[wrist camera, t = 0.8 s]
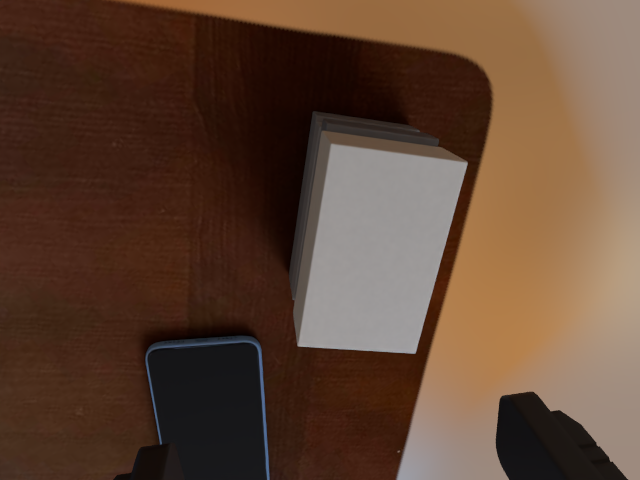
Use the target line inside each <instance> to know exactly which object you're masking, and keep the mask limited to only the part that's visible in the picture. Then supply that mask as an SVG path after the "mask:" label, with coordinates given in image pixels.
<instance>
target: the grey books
mask: <svg viewBox="0 0 640 480" xmlns="http://www.w3.org/2000/svg"><path fill="white" fill-rule="evenodd" d="M322 131H329V132H336V133H343V134H350V135H357V136H364V137H371V138H378V139H385V140H392V141H400V142H407V143H414V144H421V145H428V146H435V147H438V143H439V139H437V138H435V137H433V136H431V135H429V134H427V133H420V131H419V130H418V129H416V128H414V127H412V126H410V125H404V124H397V123H391V122H384V121H377V120H370V119H364V118H357V117H350V116H343V115H337V114H330V113H323V112H317V111H313V114H312V120H311V127H310V134H309V141H308V148H307V155H306V161H305V168H304V175H303V182H302V189H301V195H300V202H299V209H298V216H297V223H296V229H295V236H294V243H293V250H292V257H291V264H290V270H289V279H290V286H291V290H292V298H293V300H295V298H296V292H297V285H298V279H299V272H300V266H301V260H302V253H303V247H304V240H305V234H306V227H307V221H308V215H309V208H310V202H311V195H312V189H313V182H314V176H315V170H316V163H317V157H318V150H319V144H320V137H321V132H322Z"/></svg>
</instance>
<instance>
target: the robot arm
mask: <svg viewBox="0 0 640 480" xmlns="http://www.w3.org/2000/svg"><path fill="white" fill-rule="evenodd" d="M496 449H497V454H498V457H499V460H500V463H501V465H502V468H503V470H504V471H505V473H506V475H507V476H508V478H509V480H628V479H627V478H626V477H625V476H624V475H623V473H622V472H621V471H620V470H619V469H618V468H617V466H616V465H615V464H614V463H613V462H610V460H609V457H608V456H607V455H606V454H605V452H604V451H603V450H602V449H601V448H600V447H598V446H597V445H596V442H595V441H594V440H593V438H592V437H591V436H590V435H589V434H588V432H587V431H586V430H585V429H584V428H583V427H582V425H581V424H579V423H578V422H576V421H575V420H573V419H572V418H570V417H569V416H567V415H566V414H564V413H563V412H561V411H560V410H558V411H550V410H549V409H548V408H547V407H546V405H545V404H544V403H543V401H542V400H541V399H540V398H539V397H538V395H536V394H535V393H534V392H526V393H518V394H512V395H505V396H502V397H501V398H500V402H499V412H498V423H497V433H496ZM114 480H185V479H184V475H183V471H182V467H181V463H180V459H179V455H178V452H177V448H176V445H175V443H166V444H159V445H152V446H146V447H141V448H140V449H139V451H138V454H137V457H136V460H135V464H134V467H133V470H132V473H128V474H121V475H117V476H116V477H115V478H114Z"/></svg>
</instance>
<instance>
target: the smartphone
mask: <svg viewBox="0 0 640 480" xmlns="http://www.w3.org/2000/svg"><path fill="white" fill-rule="evenodd" d="M145 361H146V367H147V373H148V378H149V384H150V390H151V395H152V401H153V407H154V412H155V418H156V423H157V429H158V435H159V440H160V444H166V443H175V445H176V448H177V452H178V455H179V459H180V463H181V467H182V471H183V475H184V479H185V480H270V477H269V462H268V446H267V430H266V415H265V399H264V383H263V368H262V352H261V346H260V344H259V342H258V340H257V339H255V338H253V337H251V336H229V337H215V338H200V339H186V340H172V341H161V342H157V343H154V344H152V345H151V346H150V347H149V348H148V350H147V352H146V357H145Z"/></svg>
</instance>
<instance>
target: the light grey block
mask: <svg viewBox="0 0 640 480" xmlns="http://www.w3.org/2000/svg"><path fill="white" fill-rule="evenodd" d="M466 167H467V161H465V160H463V159H461V158H460V157H458V156H456V155H454V154H452V153H451V152H449V151H447V150H445V149H443V148H442V147H435V146H428V145H421V144H414V143H407V142H400V141H392V140H385V139H378V138H371V137H364V136H357V135H350V134H343V133H336V132H329V131H322V132H321V137H320V144H319V150H318V157H317V163H316V170H315V176H314V182H313V189H312V195H311V202H310V208H309V215H308V221H307V227H306V234H305V240H304V247H303V253H302V260H301V266H300V272H299V279H298V285H297V292H296V298H295V304H294V311H293V315H294V322H295V330H296V338H297V345H298V346H302V347H318V348H334V349H350V350H366V351H382V352H398V353H416V349H417V346H418V342H419V338H420V335H421V331H422V327H423V324H424V320H425V316H426V313H427V309H428V305H429V302H430V298H431V294H432V291H433V287H434V284H435V280H436V276H437V273H438V269H439V265H440V262H441V258H442V254H443V251H444V247H445V243H446V240H447V236H448V232H449V229H450V225H451V222H452V218H453V214H454V211H455V207H456V203H457V200H458V196H459V192H460V189H461V185H462V181H463V178H464V174H465V170H466Z"/></svg>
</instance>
